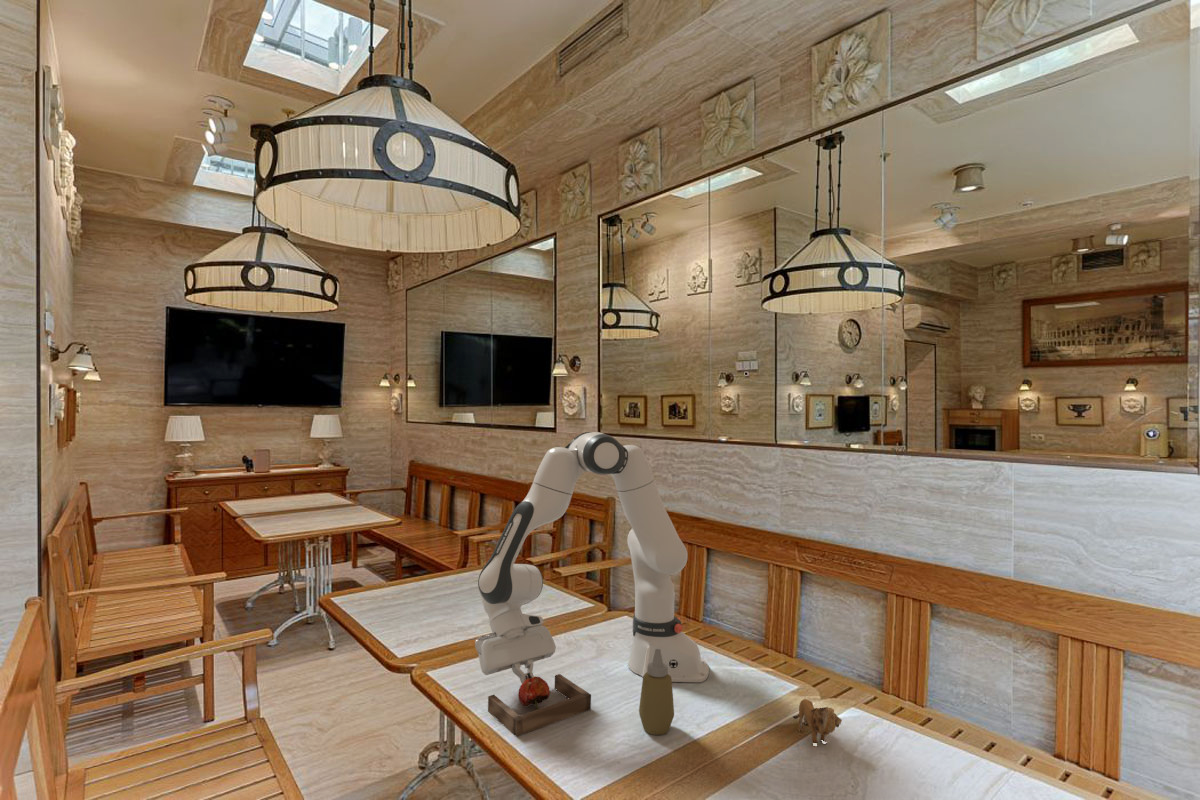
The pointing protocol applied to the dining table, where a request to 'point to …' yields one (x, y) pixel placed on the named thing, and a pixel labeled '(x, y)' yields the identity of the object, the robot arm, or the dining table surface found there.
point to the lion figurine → (817, 719)
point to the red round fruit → (533, 691)
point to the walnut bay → (542, 709)
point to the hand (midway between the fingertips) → (528, 681)
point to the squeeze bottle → (656, 697)
